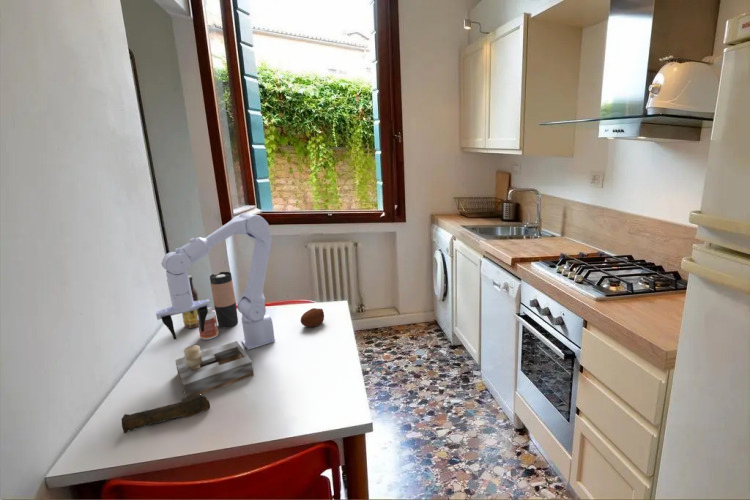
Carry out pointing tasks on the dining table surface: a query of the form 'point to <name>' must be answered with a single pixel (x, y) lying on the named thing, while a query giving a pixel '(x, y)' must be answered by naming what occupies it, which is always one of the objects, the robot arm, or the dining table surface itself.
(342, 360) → the dining table surface
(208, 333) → the pill bottle
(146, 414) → the hand tool
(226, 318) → the travel mug
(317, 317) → the potato
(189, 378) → the keyhole plate
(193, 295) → the sauce bottle
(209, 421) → the dining table surface
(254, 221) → the robot arm
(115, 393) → the dining table surface
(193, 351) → the keyhole peg
